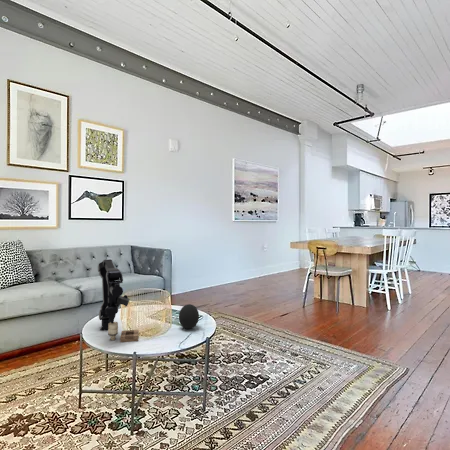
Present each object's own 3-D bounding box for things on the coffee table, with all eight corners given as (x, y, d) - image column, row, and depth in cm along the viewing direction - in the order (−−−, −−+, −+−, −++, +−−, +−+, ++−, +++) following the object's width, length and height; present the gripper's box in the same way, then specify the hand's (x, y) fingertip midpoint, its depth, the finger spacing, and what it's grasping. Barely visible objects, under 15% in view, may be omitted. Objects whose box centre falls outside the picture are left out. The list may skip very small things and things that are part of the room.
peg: (108, 337, 183) (108, 322, 182) (118, 337, 184) (118, 321, 184) (107, 341, 178) (107, 325, 177) (117, 340, 179) (117, 324, 179)
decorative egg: (200, 325, 206) (200, 302, 205) (196, 332, 193) (197, 307, 193) (181, 324, 207) (181, 301, 206) (176, 331, 195) (176, 306, 194)
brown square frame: (121, 335, 186) (121, 330, 186) (138, 334, 188) (138, 329, 188) (120, 342, 177) (120, 336, 177) (138, 341, 179) (138, 335, 179)
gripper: (127, 296, 173) (127, 325, 173) (129, 288, 191) (129, 314, 191) (105, 297, 170) (105, 326, 171) (109, 288, 188) (109, 315, 189)
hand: (113, 320), depth 180 cm, fingers open, 9 cm apart
